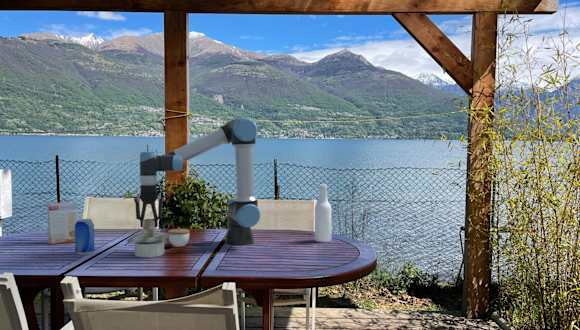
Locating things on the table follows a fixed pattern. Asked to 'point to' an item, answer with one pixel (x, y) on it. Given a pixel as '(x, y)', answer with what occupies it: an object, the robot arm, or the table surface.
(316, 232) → the alcohol
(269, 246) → the table surface
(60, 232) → the cracker box
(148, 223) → the lid
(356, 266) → the table surface
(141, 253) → the bowl
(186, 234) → the lidded jar
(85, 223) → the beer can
